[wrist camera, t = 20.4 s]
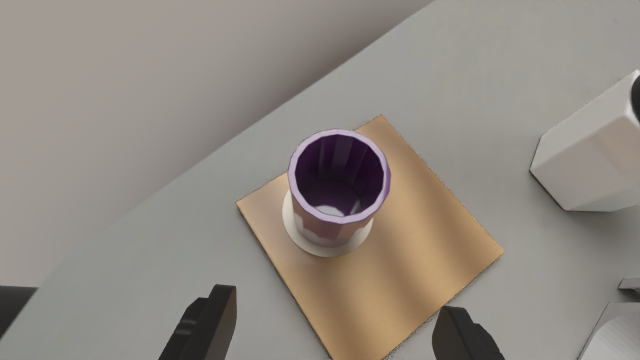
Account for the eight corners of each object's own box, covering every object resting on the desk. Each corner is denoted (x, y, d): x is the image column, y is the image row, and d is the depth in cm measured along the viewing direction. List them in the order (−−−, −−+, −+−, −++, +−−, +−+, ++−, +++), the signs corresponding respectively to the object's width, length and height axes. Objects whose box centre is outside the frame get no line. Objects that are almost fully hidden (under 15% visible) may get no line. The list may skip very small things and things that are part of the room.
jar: (639, 192, 28) (857, 120, 17) (580, 233, 26) (781, 183, 15) (568, 120, 31) (716, 18, 20) (511, 153, 29) (638, 61, 18)
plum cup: (320, 263, 23) (328, 245, 16) (279, 202, 25) (268, 160, 17) (379, 220, 25) (412, 186, 17) (337, 165, 26) (349, 113, 19)
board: (348, 383, 21) (350, 388, 20) (237, 205, 26) (234, 201, 25) (497, 253, 25) (506, 251, 24) (379, 119, 30) (382, 112, 29)
